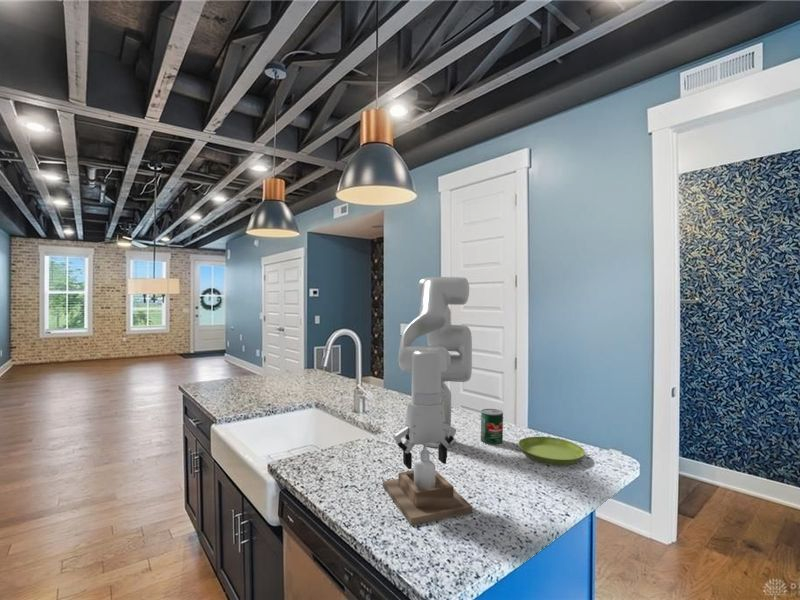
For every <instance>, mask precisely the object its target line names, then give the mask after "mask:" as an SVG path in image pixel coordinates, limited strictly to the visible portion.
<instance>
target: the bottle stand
mask: <svg viewBox="0 0 800 600" xmlns="http://www.w3.org/2000/svg"><path fill="white" fill-rule="evenodd" d="M397 477H398V478H396V479H389V480H383V481H382V488H383V489H384V490H385V492H386V493H387V496H389V497H390V498H391V500H392V502H393V503H394V504H395V505H396V507H397V509H399V511H400V513H402V515H403V517H404V518H405V519H406V520H407V522H408V523H409V525H410V526H413V525H418V524H423V523H429V522H432V521H433V522H434V521H438V520H439V521H440V520H443V519H448V518H453V517H458V516H462V515H467V514H472V513H473V505H471V503H470V502H468V500H466V499H465V498H464V497H463V496H462V495H460V494H459V493H458V492H457V491H456V490H455V488H454V486H453V484H451V483H450V481H448V480H447V479H446V478H445V477H443V476H442V475H441V474H440V473H439V472H438V471H437V469H435V487H430V488H424V489H419V488H418V487H417V486H416V485H415V484H414V470H409V471H408V470H407V471H402V472H398V476H397Z"/></svg>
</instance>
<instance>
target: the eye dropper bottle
mask: <svg viewBox="0 0 800 600" xmlns="http://www.w3.org/2000/svg"><path fill="white" fill-rule="evenodd" d="M427 447H428V446H426V445H422V450H420V451H419V458H418V459H416V460H415V461H414V464H413V471H414V484H415V485H416V486H417V487H418V488H419V489H424V488H430V487H435V470H436V465H435V463H434V462H433V461H432V460H431V459H430V458H431V457H430V453H431V452H430V450H428V448H427Z"/></svg>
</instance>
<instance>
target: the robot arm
mask: <svg viewBox="0 0 800 600" xmlns="http://www.w3.org/2000/svg"><path fill="white" fill-rule="evenodd" d="M418 292H419V296H420V306H419V315H417V317H416V318H415V319H413V320H412V321H410V323H409V324H408V325H407V326H406V328H405V329H404V331H403V332H402V334H401V337H400V343H399V349H398V355H397V356H398V358H397V359H398V365H399V368H400V370H402V371H403V372H406V373H411V401H410V402H408V404H407V408H406V412H405V422H404V428H402V429H401V430H399V431H397V432H396V433H395V434H393V436H392V437H393V439H394V441H395V443H396V445H397V446H398V447H399V449H400V450H402V451H403V452H402V454H403V456H402V463H403V465H404V466H405V467H406V468H407V470H411V469H413V467H412V464H413V462H412V461H413V459H412V458H413V454H412V452H411V451H412V449H413V448H414V447H415V446H420V445H423V446H426V447H430V448H431V447H432V448H437V449H438V451H437V452H438V456H437V457H438V458H437V459H438V461H440V462H441V463H442V464H443V465H445V464H447V458H448V449H449V448H450V447H452V446H454V445H455V443H456V438H455V436H456V433H457V429H456V428H455V427H453V426H452V393H451V390H450V387H448V385H447V384H446V383H445V382H453V383H454V382H455V383H457V382H459V383H465V382H468V381H470V380H471V377H472V370H473V369H472V368H473V366H472V365H473V361H472V360H473V338H472V332H471V328H469V326H467V325H463V324H452V322H451V321H452V311H451V309H450V307H449V305H454V306H455V305H460V306H461V305H465V304H467V302H468V301H469V296H470V283H469V281H468V279H467V278H466V277H464V276H462V277H457V276H456V277H455V276H452V277H451V276H430V277H429V276H428V277H425V278H422V279H420V280H419V282H418ZM424 335H426V340H427V342H426V343H427V345H421V344H419V345H417V344H412V343H413V342H415V340H416V339H418V338H420V337H421V336H424ZM450 352H457V353H458V354H451V353H450ZM402 438H404V439H405V441H404V442H403V441H402Z"/></svg>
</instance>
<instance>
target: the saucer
mask: <svg viewBox="0 0 800 600" xmlns="http://www.w3.org/2000/svg"><path fill="white" fill-rule="evenodd" d="M517 444H518V446H519V449H520V451H521V452H522V453H523V454H524V455H525V456H526V457H527V458H529V459H531V460H532V461H534V462H537V463H540V464H544V465H550V466H557V467H558V466H562V467H564V466H565V465H566V466H571V464H572V465H574V464H576V463H578V462H579V461H581V459H582V458H583V457H584V456H585V454H586V450H585V449H584V448H583V447H581V446H580V445H578V444H577V443H575V442H572V441H569V440H566V439H562V438H558V437H553V436H529V437H524V438H522V439H519V441H518V443H517Z"/></svg>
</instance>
